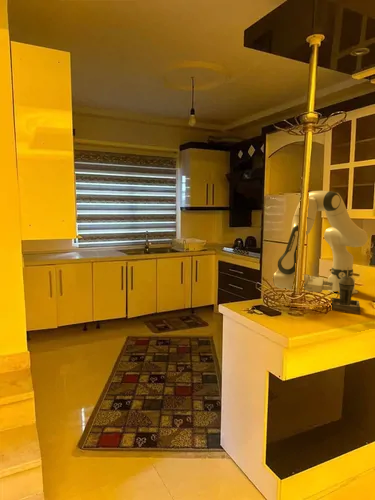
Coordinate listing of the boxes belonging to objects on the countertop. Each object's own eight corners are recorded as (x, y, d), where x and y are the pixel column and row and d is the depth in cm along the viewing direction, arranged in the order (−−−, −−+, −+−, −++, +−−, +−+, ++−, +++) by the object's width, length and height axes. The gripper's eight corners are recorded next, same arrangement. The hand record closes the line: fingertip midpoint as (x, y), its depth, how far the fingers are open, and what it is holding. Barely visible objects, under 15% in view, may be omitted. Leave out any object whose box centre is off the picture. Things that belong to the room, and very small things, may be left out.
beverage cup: (336, 306, 178) (339, 267, 175) (337, 303, 184) (340, 265, 181) (351, 309, 174) (355, 269, 172) (353, 305, 181) (356, 267, 178)
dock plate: (330, 303, 189) (330, 297, 188) (359, 306, 183) (359, 300, 183) (329, 310, 176) (330, 304, 175) (360, 314, 170) (361, 307, 170)
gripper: (302, 281, 176) (332, 284, 170) (306, 273, 194) (333, 276, 189) (302, 293, 177) (331, 296, 171) (305, 284, 195) (332, 287, 190)
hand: (332, 286), depth 180 cm, fingers open, 8 cm apart
